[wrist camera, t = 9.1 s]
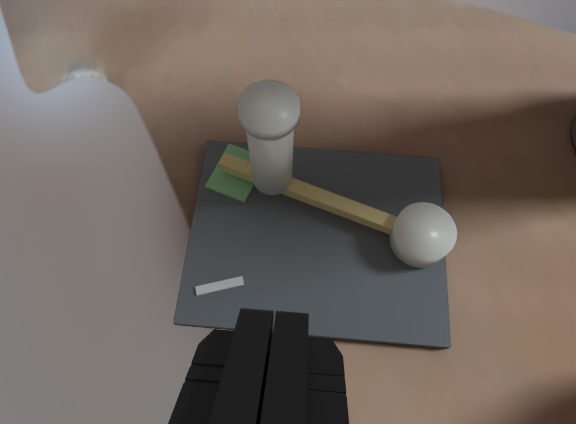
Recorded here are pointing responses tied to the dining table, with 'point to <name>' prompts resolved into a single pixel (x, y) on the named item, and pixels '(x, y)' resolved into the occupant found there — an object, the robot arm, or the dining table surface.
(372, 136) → the dining table surface
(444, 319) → the dark grey base plate
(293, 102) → the domed post with rod
